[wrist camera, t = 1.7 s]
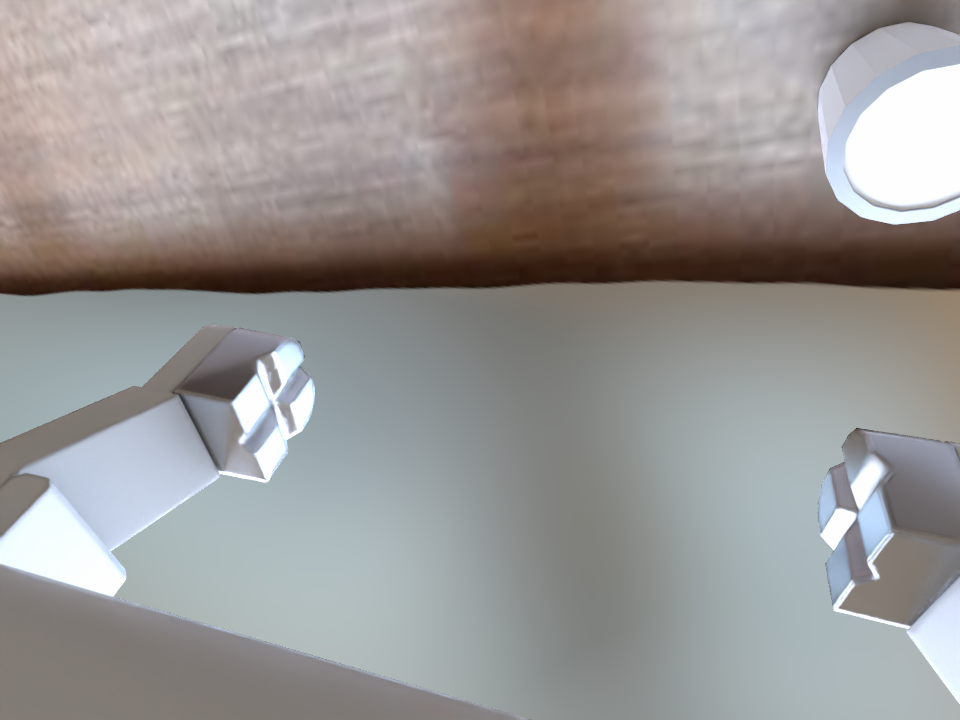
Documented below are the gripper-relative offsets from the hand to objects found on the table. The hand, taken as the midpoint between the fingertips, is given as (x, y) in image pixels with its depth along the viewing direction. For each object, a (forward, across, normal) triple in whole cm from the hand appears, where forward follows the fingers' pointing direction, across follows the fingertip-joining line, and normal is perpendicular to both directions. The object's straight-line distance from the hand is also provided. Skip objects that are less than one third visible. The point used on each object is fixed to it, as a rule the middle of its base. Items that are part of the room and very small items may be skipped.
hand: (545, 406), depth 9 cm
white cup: (+27, -11, +3) cm, 29 cm away
